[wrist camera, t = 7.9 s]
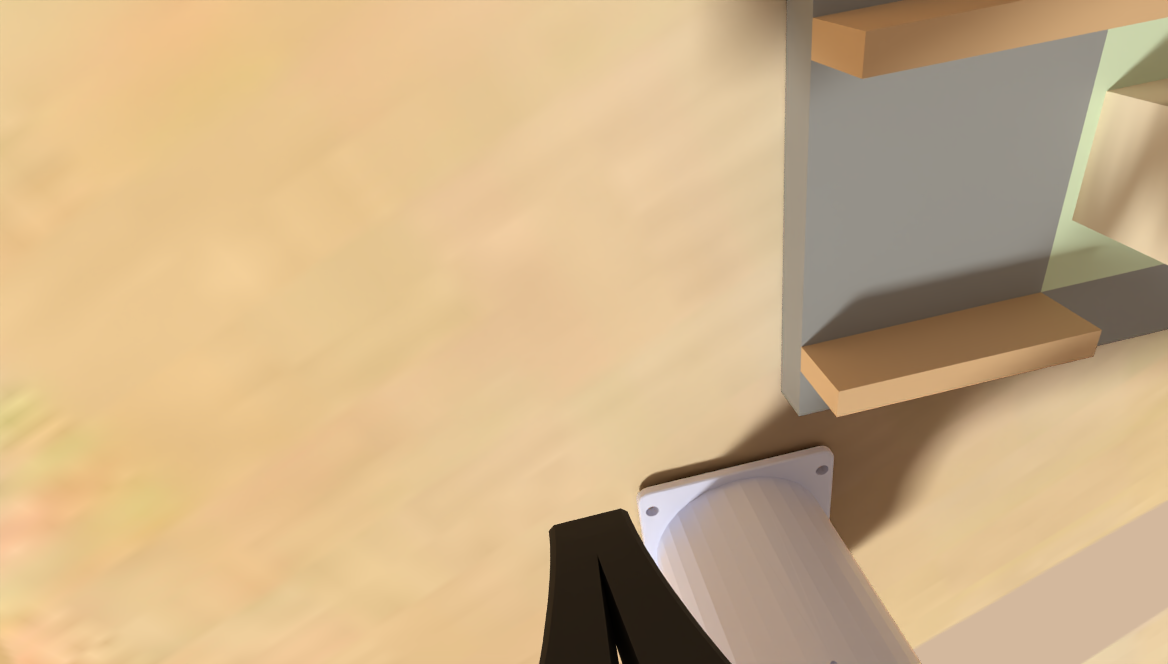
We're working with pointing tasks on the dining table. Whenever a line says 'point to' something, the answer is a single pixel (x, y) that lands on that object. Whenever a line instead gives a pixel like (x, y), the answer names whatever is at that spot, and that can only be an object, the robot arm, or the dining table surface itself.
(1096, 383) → the dining table surface
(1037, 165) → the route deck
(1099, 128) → the birch block
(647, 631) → the robot arm
